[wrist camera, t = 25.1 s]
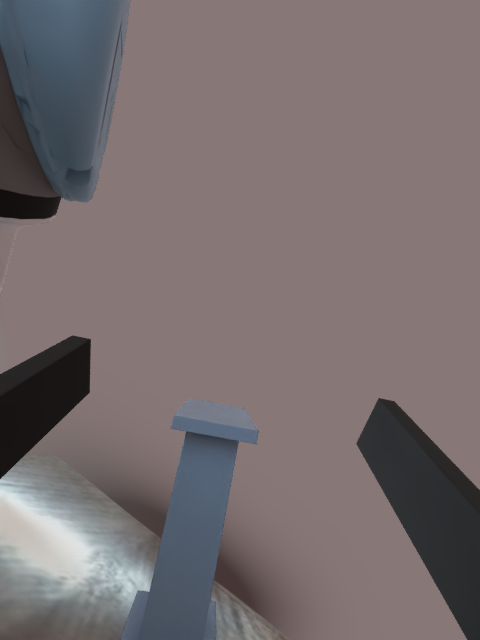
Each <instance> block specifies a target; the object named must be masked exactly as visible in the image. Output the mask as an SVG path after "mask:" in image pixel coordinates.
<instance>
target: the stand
mask: <svg viewBox="0 0 480 640" xmlns="http://www.w3.org/2000/svg"><path fill="white" fill-rule="evenodd" d="M171 429H176V430H181V431H186V434H185V439H184V443H183V447H182V452H181V456H180V461H179V465H178V470H177V474H176V478H175V482H174V487H173V491H172V496H171V500H170V504H169V509H168V513H167V518H166V522H165V526H164V531H163V535H162V539H161V544H160V548H159V553H158V557H157V561H156V566H155V570H154V575H153V579H152V583H151V588H150V592H146V591H139V590H138V591H137V594H136V597H135V600H134V603H133V605H132V608H131V611H130V614H129V617H128V620H127V622H126V625H125V628H124V631H123V634H122V636H121V639H120V640H215V609H216V602H215V601H210V598H211V592H212V587H213V581H214V575H215V570H216V564H217V559H218V553H219V548H220V542H221V536H222V531H223V526H224V520H225V515H226V509H227V503H228V498H229V492H230V487H231V481H232V476H233V470H234V465H235V459H236V454H237V448H238V443H239V441H241V442H247V443H253V444H257V438H258V432H259V431H258V429H257V428H256V426H255V425H254V423H253V421H252V420H251V418H250V417H249V415H248V414H247V412H246V411H245V409H244V408H240V407H235V406H230V405H225V404H220V403H214V402H209V401H204V400H198V399H193V398H189V399H188V400H187V401H186V402H185V403H184V404H183V406H182V407H181V408H180V409H179V410H178V411H177V412H176V413H175V415H174V417H173V421H172V425H171Z"/></svg>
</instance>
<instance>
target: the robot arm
mask: <svg viewBox="0 0 480 640" xmlns="http://www.w3.org/2000/svg"><path fill="white" fill-rule="evenodd" d="M129 8H130V0H0V295H1V292H2V288H3V284H4V280H5V276H6V273H7V269H8V265H9V261H10V257H11V254H12V250H13V245H14V242H15V238H16V235H17V231H18V230H19V229H22V228H26V227H30V226H34V225H39V224H43V223H47V222H50V221H51V220H53V219H54V217H55V216H56V213H57V209H58V206H59V203H60V200H61V197H62V198H64V199H66V200H68V201H78V202H88V201H89V200H91V199H92V197H93V194H94V191H95V188H96V185H97V182H98V178H99V171H100V168H101V164H102V159H103V155H104V152H105V148H106V144H107V139H108V134H109V129H110V124H111V119H112V114H113V109H114V103H115V98H116V93H117V87H118V81H119V75H120V70H121V64H122V58H123V52H124V44H125V38H126V31H127V24H128V16H129ZM90 343H91V340H90V339H87V338H82V337H77V336H71V337H69V338H67V339H65V340H63V341H61V342H60V343H58V344H56V345H54V346H52V347H50V348H48V349H47V350H45V351H43V352H41V353H39V354H37V355H35V356H34V357H32V358H30V359H28V360H26V361H24V362H22V363H20V364H19V365H17V366H15V367H13V368H11V369H9V370H8V371H6V372H4V373H2V374H0V479H1V478H2V477H3V476H4V475H5V474H6V473H7V472H8V471H9V470H10V469H11V468H12V467H13V466H14V465H15V464H16V463H17V462H18V461H19V460H20V459H21V458H22V457H23V456H24V455H25V454H26V453H28V452H29V451H30V450H31V449H32V448H33V447H34V446H35V445H36V444H37V443H38V442H39V441H40V440H41V439H42V438H43V437H44V436H45V435H46V434H47V433H48V432H49V431H50V430H51V429H52V428H53V427H54V426H55V425H56V424H58V422H60V421H61V420H62V419H63V418H64V417H65V416H66V415H67V414H68V413H69V412H70V411H71V410H72V409H73V408H74V407H75V406H76V405H77V404H78V403H79V402H80V401H81V400H82V399H83V398H84V397H85V396H86V395H88V393H89V392H90V347H91V344H90ZM357 445H358V447H359V449H360V451H361V453H362V454H363V456H364V458H365V460H366V462H367V463H368V465H369V467H370V469H371V470H372V472H373V474H374V475H375V477H376V479H377V481H378V483H379V484H380V486H381V488H382V490H383V492H384V493H385V495H386V497H387V499H388V500H389V502H390V504H391V506H392V507H393V509H394V511H395V513H396V515H397V516H398V518H399V520H400V522H401V523H402V525H403V527H404V529H405V530H406V532H407V534H408V536H409V537H410V539H411V541H412V543H413V545H414V546H415V548H416V550H417V552H418V553H419V555H420V557H421V559H422V560H423V562H424V564H425V566H426V567H427V569H428V571H429V573H430V575H431V576H432V578H433V580H434V582H435V583H436V585H437V587H438V589H439V590H440V592H441V594H442V596H443V597H444V599H445V601H446V603H447V604H448V606H449V608H450V610H451V611H452V613H453V615H454V617H455V619H456V620H457V622H458V624H459V626H460V627H461V629H462V631H463V633H464V635H465V636H466V638H467V640H480V490H479V489H478V488H477V487H476V486H475V485H474V484H473V483H472V482H471V481H470V480H469V479H468V478H467V477H466V476H465V475H464V474H463V472H462V471H461V470H460V469H459V468H458V467H457V466H456V465H455V464H454V463H453V462H452V461H451V460H450V459H449V458H448V457H447V456H446V455H445V454H444V453H443V452H442V451H441V450H440V448H439V447H438V446H437V445H435V443H434V442H433V441H432V440H431V439H430V438H429V437H428V436H427V435H426V434H425V433H424V432H423V431H422V430H421V429H420V428H419V427H418V426H417V425H416V424H415V423H414V422H413V420H412V419H411V418H410V417H409V416H408V415H407V414H406V413H405V412H404V411H403V410H402V409H401V408H400V407H399V406H398V405H397V404H396V403H395V402H394V401H390V400H385V399H380V398H379V399H378V401H377V403H376V405H375V407H374V409H373V411H372V413H371V415H370V417H369V419H368V421H367V423H366V425H365V427H364V429H363V431H362V433H361V435H360V437H359V439H358V441H357Z"/></svg>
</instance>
